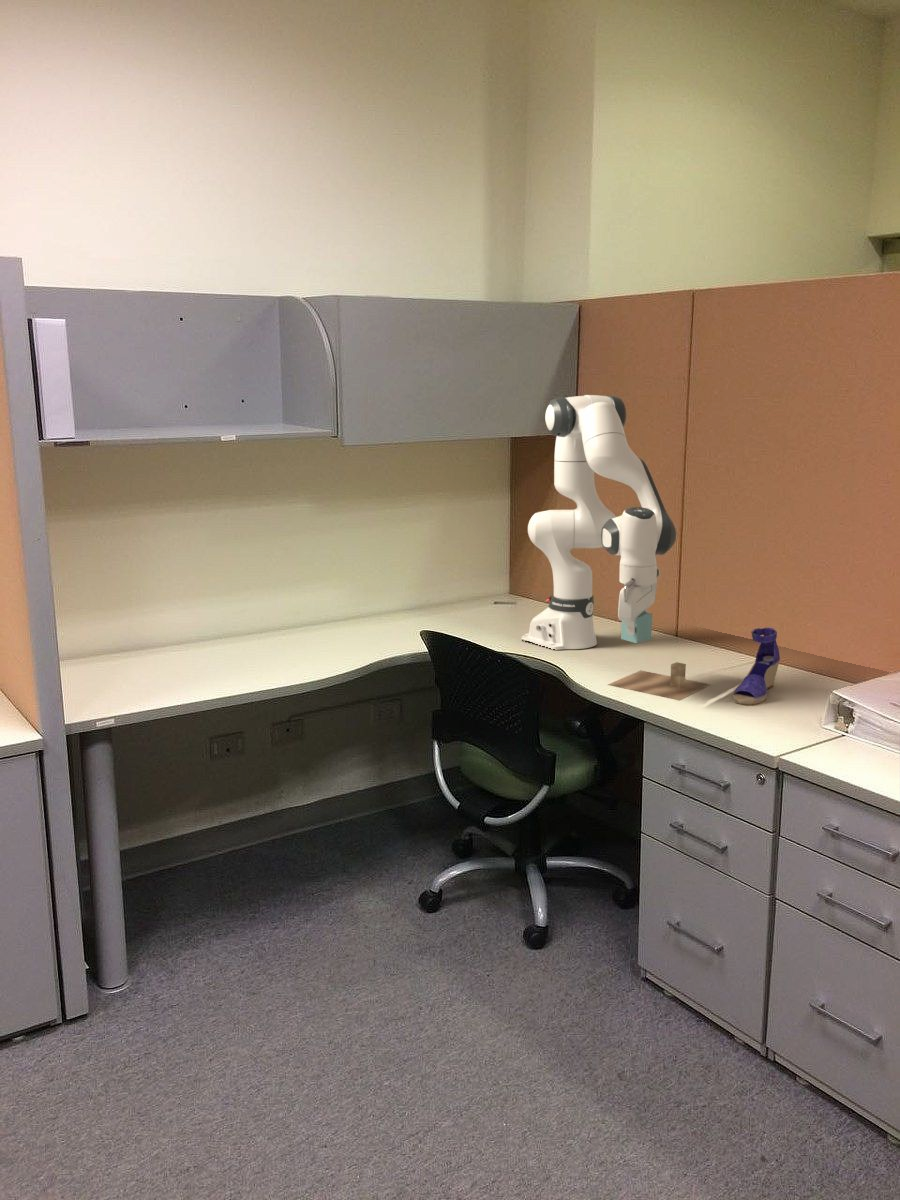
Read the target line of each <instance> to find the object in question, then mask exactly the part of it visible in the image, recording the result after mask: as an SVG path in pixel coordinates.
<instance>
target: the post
mask: <svg viewBox="0 0 900 1200" xmlns="http://www.w3.org/2000/svg"><path fill="white" fill-rule="evenodd" d="M686 666H687V664H686V663H682V662H677V661H676V662H674V663H671V664H670V676H671V681H670V686H673V687H678V688H681V687H683V686H685V679H686V671H687V670H686V668H687V667H686Z"/></svg>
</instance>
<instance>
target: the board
mask: <svg viewBox="0 0 900 1200" xmlns="http://www.w3.org/2000/svg"><path fill="white" fill-rule="evenodd" d="M670 681H671V675H665V674H661V673H656V672H653V671H652V672H651V671H647V670H638V671H636V672H633V673H632V674H628V675H626V676H624V677H622V678H619V679H617V680H615V681H612V682H610V683H608V684H607V686H610V687H614V688H615V687H616V688H619V689H620V688H621V689H623V690H624V689H625V690H629V691H634V692H637V693H638V692H639V693H642V694H647V695H652V696H656V697H661V698H666V699H671V700H676V701H678V702H679V701H682V700H684V699H686V698H688V697H690V696H692V695H694V694H695V693H697V692H700V691H701V690H702V691H703V690H704V689H706V688H707V687H710V686H712V684H711V683H706V682H700V681H695V680H691V679H686V678H685V686H683V687H681V688H678V687H673V686H670Z"/></svg>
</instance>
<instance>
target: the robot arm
mask: <svg viewBox="0 0 900 1200" xmlns="http://www.w3.org/2000/svg"><path fill="white" fill-rule="evenodd" d="M544 414H545V416H544V418H545V426H546V429H547V431H548V432H549V434H551V435H552V436H553V437H554V436H555V443H554V444H555V446H554V465H553V467H554V469H553V476H554V477H553V481H554V483H553V486H554V488H555V490H556V491H557V492H558V493H559V494H560V495H562V496H564V497H566V498H568V499H570V500H572V501H573V502H574V503H575V504H576V508H574V509H548V510H544V511H542V510H541V511H538V512H535V513H534V514H532V516H531V518H529V521H528V523H527V534H528V535H527V536H528V537H529V539H530V541H531V543H532V544H533V545H534V546H535V547H536V548H538V549H539V550H541V552H542V553H543V554H544V555H545V557H546V558H547V560H548V562H549V564H550V566H551V567H550V568H551V571H552V572H551V573H552V579H553V583H552V584H553V594H552V595H550V596H549V597H545V599H546V600H545V602H549V604H548V605H547V607H546V608H545V609H544V610H542V611H541V612H539V613H538V614H536V615H535V616H534V617H533V618H532V619H531V620H530V624H529V630H528V632H527V633H524V634H523V635H522V636H521V639H524V640H527V641H530V642H533V643H535V644H538V645H537V646H539V645H541V646H540V647H542V646H545V647H544V648H546V647H548V648H547V649H549V648H551V649H550V650H553V649H555V650H554V651H560V650H583V649H589V648H592V647H595V646H596V645H598V641H597V637H596V632H595V626H594V617H593V616H594V610H595V609H594V608H595V606H594V603H595V598H594V595H593V570H592V568H591V566H590V565H589V564H587V563H586V562H585V561H583V560H580V559H578V558H576V557H574V556H573V554H571V550H573V549H599V548H603V549H604V550H605V551H606V552H607V553H608V554H610V555H614V556H620V561H619V573H618V574H619V577H618V580H619V583H621V584H624V585H623V586H624V587H622V588H621V589H620V591H619V594H618V596H619V597H618V606H617V607H618V608H617V611H618V612H617V616H618V619H619V621H622V620H623V621H626V625H627V634H629V635H634V634H635V633H636V627H635V621H636V617H638V616H639V615H640V614H641V613H642V612H648V609H649V608H650V607H651V606H652V605H654V603H655V600H656V595H657V586H658V578H659V577H660V572H661V571H660V568H659V567H657V558H656V555H660V556H663V555H666V553H668V552H669V551H670V550H671V549H672V548H673V546H674V545H675V543H676V540H677V530H676V526H675V525H674V522H673V520H672V519H671V517H670V516H669V513H667V510H666V508H665V506H664V503H663V501H662V499H661V496H660V494H659V492H658V488H657V486H656V484H655V481H654V479H653V476H652V475H651V472H650V469H649V468H648V466H647V464H646V462H645V461H644V460H643V459H642V458H640V457H638V455H636V454H635V453H634V451H633V450H632V449H631V447H630V445H629V444H628V443H629V442H628V441H627V437H626V432H625V429H624V426H625V424H626V422H627V408H626V405H625V403H624V401H623V400H622V398H620V397H618V396H615V395H610V394H609V395H598V394H596V395H595V394H584V395H578V396H577V395H575V396H568V397H565V396H561V397H557V398H553V399H551V400H550V402H548V404H547V406H546V409H545V413H544ZM595 473H596V474H597V475H599V476H601V477H603V478H606V479H608V480H613V481H616V482H619V483H622V484H624V485H627V486H628V487H630V488H631V489H632V490H633V491H634V492H635V494H636V496H637V499H638V501H639V503H640V506H631V507H627V508H626V509H625V510H623V512H622V514H621V515H619V516H616V515H615V513H614V512H612V511H611V509H609V508H607V507H606V506H605V504H604V503H603V502H602V500H601V499H600V497H599V494H598V492H597V489H596V484H595ZM521 639H520V640H521ZM535 644H534V645H535Z"/></svg>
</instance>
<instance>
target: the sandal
mask: <svg viewBox="0 0 900 1200" xmlns="http://www.w3.org/2000/svg"><path fill="white" fill-rule="evenodd" d="M750 633H751V638H752V641H753V642H756V643H760V644H759V646H758V650H757V652H756V656H755V660H754V663H753V665H752V666H751V668H750V670H749V671H748V673H747V675H746V676H744V678H743V680H742V681H741V682H740V684H739V685H738V686H737V687H736V688H735V689H734V690H733V693H732V698H733V702H734V703H735V704H737V705H741V706H754V705H759V704H761V703H764V702H765V701H766V700H767V697H768V696H767V695H768V690H770V689H772V688H774V685H775V680H776V676H777V672H778V667H779V664H780V662H781V660H780V659H781V656H780V650H779V646H778V644H777V643H778V642H777V637H778V632H777V630H776V629H775V628H772V627H763V628H760V627H759V628H753V630H751V632H750Z"/></svg>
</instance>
